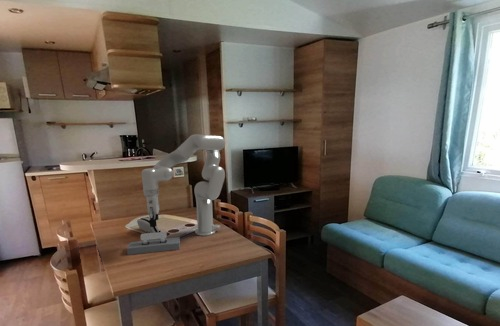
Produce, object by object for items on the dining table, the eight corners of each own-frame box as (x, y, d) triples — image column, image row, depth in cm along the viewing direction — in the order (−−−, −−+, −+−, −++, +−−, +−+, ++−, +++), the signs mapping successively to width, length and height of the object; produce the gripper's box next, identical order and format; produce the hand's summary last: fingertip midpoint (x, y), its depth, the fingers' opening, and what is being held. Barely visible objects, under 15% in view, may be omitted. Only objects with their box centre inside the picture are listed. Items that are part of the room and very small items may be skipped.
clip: (167, 246, 151) (166, 231, 150) (167, 248, 148) (166, 233, 147) (142, 248, 149) (141, 233, 147) (141, 251, 146) (140, 235, 144)
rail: (179, 243, 155) (179, 237, 154) (179, 249, 147) (179, 243, 147) (130, 248, 149) (130, 242, 149) (127, 255, 142) (126, 248, 141)
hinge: (161, 232, 171) (156, 219, 167) (155, 237, 168) (149, 223, 164) (146, 226, 181) (141, 214, 178) (140, 231, 178) (134, 218, 174)
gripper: (157, 195, 137) (160, 228, 139) (160, 187, 153) (163, 216, 156) (141, 197, 135) (144, 230, 138) (146, 188, 152) (149, 218, 154)
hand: (154, 223), depth 147 cm, fingers open, 9 cm apart
